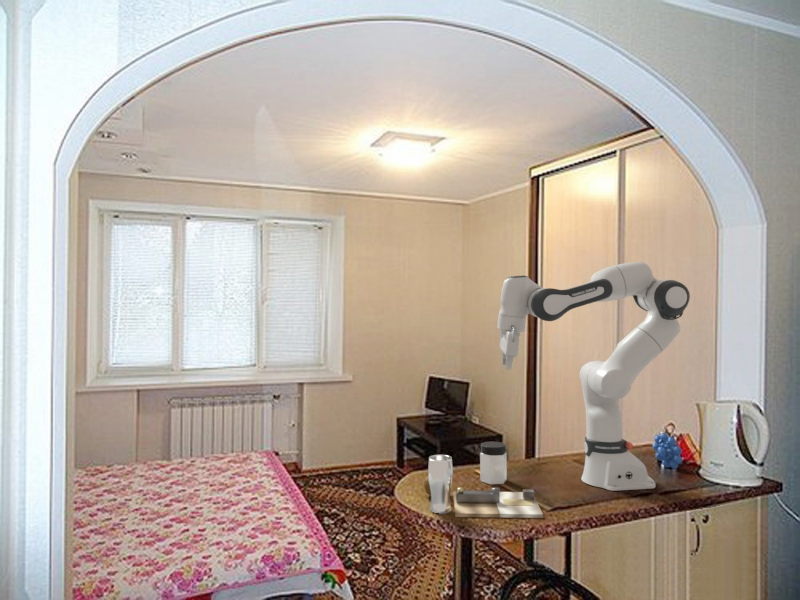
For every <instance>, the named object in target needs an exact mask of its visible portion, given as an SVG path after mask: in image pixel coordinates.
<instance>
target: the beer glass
mask: <svg viewBox="0 0 800 600" xmlns="http://www.w3.org/2000/svg"><path fill="white" fill-rule="evenodd" d="M452 458H453V457H452V456H450V455H447V454H434V455H430V456H429V457H428V466H427V469H428V472H427V473H428V475H427V476H428V477H429V484H430V490H431V496H430V506H429V510H431V511H432V512H431V511H430V512H431V513H433V512H434V514H436V513H439V514H438V515H447V514H449V513H451V511H452V506H451V491H452V484H453V476H454V472H453V468H454V467H453V459H452Z"/></svg>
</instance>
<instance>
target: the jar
mask: <svg viewBox="0 0 800 600" xmlns="http://www.w3.org/2000/svg"><path fill="white" fill-rule="evenodd" d="M506 447H507V446H506V444H505V443H504V442H501V441H484V442H481V444H480V453H479V462H480V463H479V466H480V467H479V469H480V470H479V471H480V472H479V473H480V476H479V478H480V480H479V481H480V482H482V483H485V484H487V485H490V486H491V485H504V484H505V483H506V481H507V479H508V478H507V477H508V475H507V473H508V472H507V471H508V470H507V466H508V465H507V448H506Z"/></svg>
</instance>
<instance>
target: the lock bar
mask: <svg viewBox="0 0 800 600" xmlns="http://www.w3.org/2000/svg"><path fill="white" fill-rule="evenodd" d="M490 488H491V490H464V487H462V486H459V487H457V488H456V490H455V491H456V502H478V503H498V502H500V492H501V491H500V487H497V486H494V487H490Z"/></svg>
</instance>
